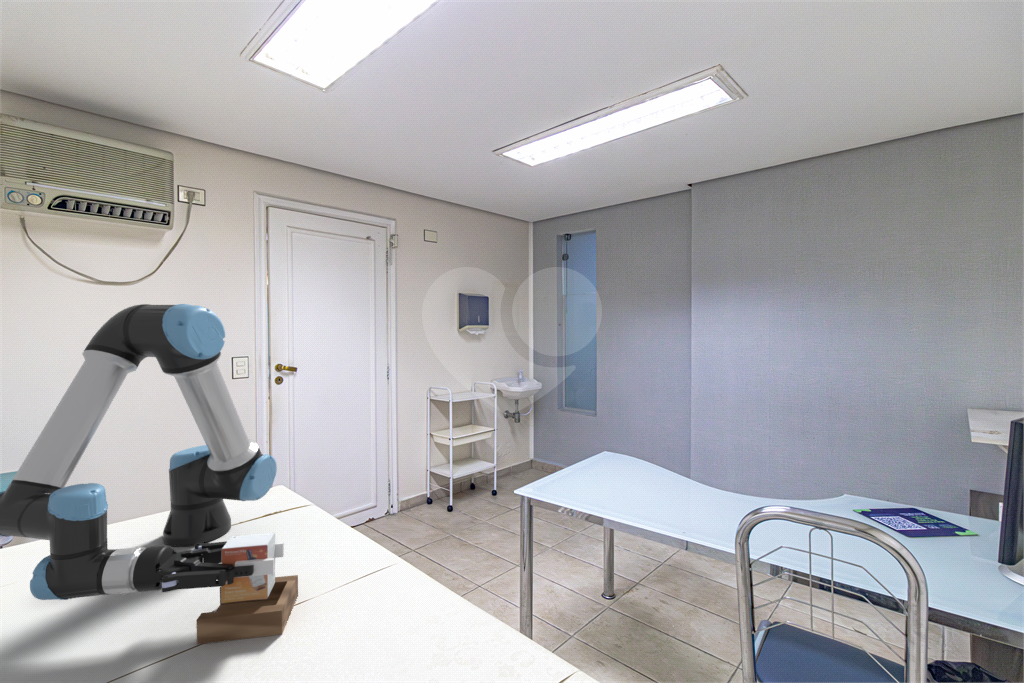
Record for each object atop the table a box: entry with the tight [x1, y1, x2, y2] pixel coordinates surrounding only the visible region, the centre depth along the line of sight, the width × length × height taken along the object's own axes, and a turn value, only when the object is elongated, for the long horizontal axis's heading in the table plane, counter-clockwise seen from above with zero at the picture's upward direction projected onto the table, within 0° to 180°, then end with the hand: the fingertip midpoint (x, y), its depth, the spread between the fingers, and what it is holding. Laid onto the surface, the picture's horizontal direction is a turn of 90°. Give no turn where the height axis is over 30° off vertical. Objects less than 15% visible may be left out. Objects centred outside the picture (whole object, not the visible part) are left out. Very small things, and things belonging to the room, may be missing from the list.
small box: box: [220, 531, 276, 603], centre depth 89 cm, size 8×6×10 cm
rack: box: [196, 574, 299, 645], centre depth 90 cm, size 12×14×4 cm
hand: (278, 557), depth 90 cm, fingers closed on small box, 6 cm apart
